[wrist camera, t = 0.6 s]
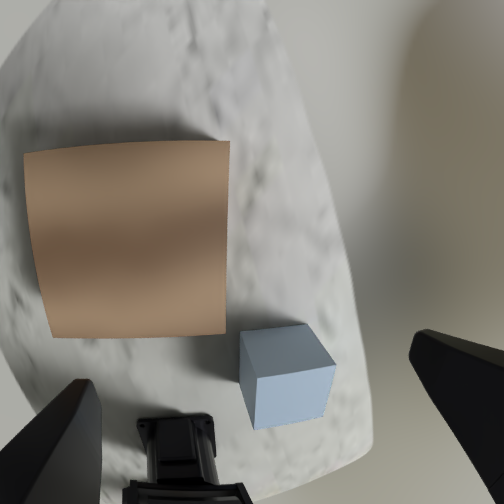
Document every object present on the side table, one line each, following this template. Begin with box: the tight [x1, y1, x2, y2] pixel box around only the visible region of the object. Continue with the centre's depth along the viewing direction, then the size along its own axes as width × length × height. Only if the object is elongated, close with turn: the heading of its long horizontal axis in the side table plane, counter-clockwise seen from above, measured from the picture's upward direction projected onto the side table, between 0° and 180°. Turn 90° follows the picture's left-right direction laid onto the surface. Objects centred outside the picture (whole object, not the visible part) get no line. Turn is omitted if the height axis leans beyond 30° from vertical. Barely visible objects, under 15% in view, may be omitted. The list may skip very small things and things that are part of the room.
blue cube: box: [239, 324, 336, 430], centre depth 21 cm, size 5×5×5 cm
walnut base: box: [24, 141, 230, 338], centre depth 16 cm, size 10×10×4 cm
